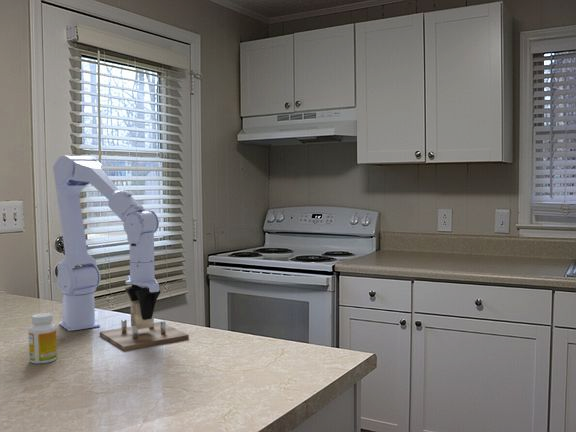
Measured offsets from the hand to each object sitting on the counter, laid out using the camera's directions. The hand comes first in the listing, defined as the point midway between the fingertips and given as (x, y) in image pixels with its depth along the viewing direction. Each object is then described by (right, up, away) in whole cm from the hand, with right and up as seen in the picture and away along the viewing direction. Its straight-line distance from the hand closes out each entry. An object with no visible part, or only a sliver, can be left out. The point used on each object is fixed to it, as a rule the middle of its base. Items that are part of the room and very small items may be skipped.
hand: (143, 317), depth 140 cm
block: (0, -2, 0) cm, 2 cm away
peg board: (0, -5, 0) cm, 5 cm away
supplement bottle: (-17, -6, -17) cm, 25 cm away
